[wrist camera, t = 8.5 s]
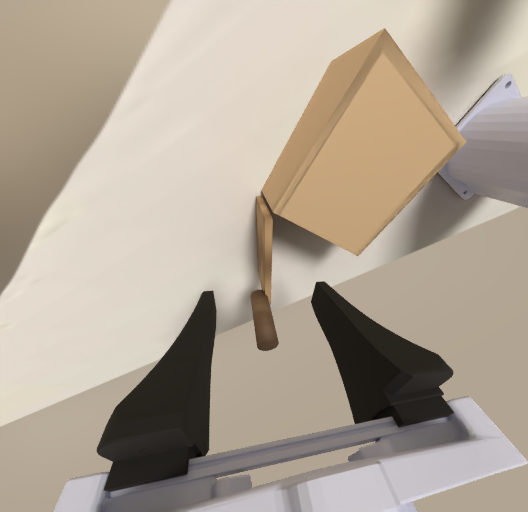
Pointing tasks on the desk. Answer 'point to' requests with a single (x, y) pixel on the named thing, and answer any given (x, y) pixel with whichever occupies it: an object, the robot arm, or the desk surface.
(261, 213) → the wooden paddle
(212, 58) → the desk surface
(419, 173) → the carton
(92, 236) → the desk surface
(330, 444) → the robot arm
